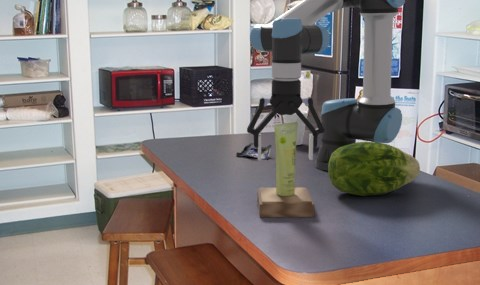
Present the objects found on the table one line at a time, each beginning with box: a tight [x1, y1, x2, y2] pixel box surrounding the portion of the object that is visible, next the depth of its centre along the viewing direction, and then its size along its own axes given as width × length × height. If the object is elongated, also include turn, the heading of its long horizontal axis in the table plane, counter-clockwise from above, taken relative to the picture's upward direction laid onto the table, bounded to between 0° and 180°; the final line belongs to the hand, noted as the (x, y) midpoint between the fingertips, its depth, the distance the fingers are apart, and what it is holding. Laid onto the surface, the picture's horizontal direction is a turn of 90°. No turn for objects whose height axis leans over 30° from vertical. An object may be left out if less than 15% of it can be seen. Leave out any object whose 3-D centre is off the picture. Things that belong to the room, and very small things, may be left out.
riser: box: [256, 186, 315, 218], centre depth 168 cm, size 14×14×4 cm
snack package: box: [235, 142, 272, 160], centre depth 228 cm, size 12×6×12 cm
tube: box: [273, 122, 298, 196], centre depth 166 cm, size 6×5×20 cm
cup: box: [282, 109, 309, 146], centre depth 247 cm, size 10×10×13 cm
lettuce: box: [327, 141, 421, 197], centre depth 180 cm, size 15×27×16 cm, turn 97°
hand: (285, 159), depth 166 cm, fingers open, 13 cm apart
